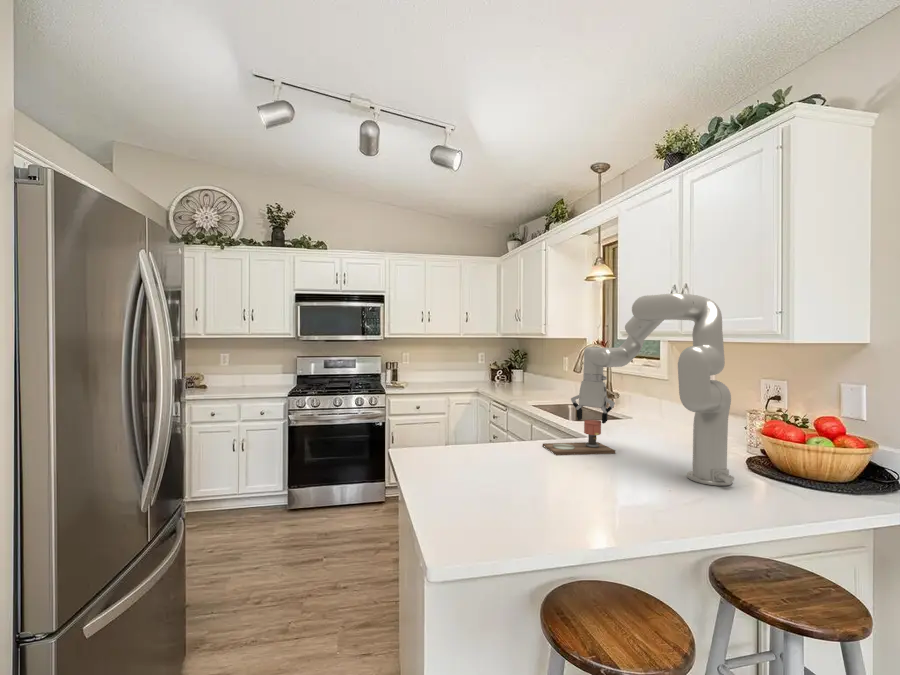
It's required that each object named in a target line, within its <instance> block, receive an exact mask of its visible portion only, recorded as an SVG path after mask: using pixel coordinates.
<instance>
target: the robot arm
mask: <svg viewBox="0 0 900 675" xmlns="http://www.w3.org/2000/svg"><path fill="white" fill-rule="evenodd" d="M631 313H632V315H633V316H632V317H631V318H630V319H629V320H628V321H627V322H626V323H625V325H624V330H625V332H626V334H627V335H628V336H627V338H626V339H625V340H624V342H622V344H621V345H619V347H597V346H596V347H595V346H587V347H585V348H584V351H583V352H584V353H583V376H582V380H581V383H580V386H579V394H577V395H576V396H573V397H571V398H570V401H571V403H572V405H573V407H574V409H576V418H577V420H578V421H581V420H582V419H583V409H582V408H583V407H588V408H597V409H598V408H599V409H601V411H602V414H601V424H606V423H607V422H608V414H609V412H610V411H612V410H613V408H614V406H615V405H616V402H615V401H613V400H612V399H610V398H608V397H607V386H606V382H604V381H607V379H608V377H607V376H605V374H604V368H620V367H625V366H626V365H628V364H629V363H631V362H632V361H633V360H634V358H636V357H637V356H638V355H639V353H641V350H642V348H643V346H644V343H645V340H646V339H647V338H648V337H649V335H651V333H653V331H655V329H657V328H658V327H659V325H660V324H661V323H663V321H668V320H669V321H672V320H673V321H674V320H676V321H690V322H691V321H692V322H694V325H693V327H692V346H688V347H686V348H685V349H684V350H682V352H681V353H680V355H679V357H678V360H677V375H678V376H677V377H678V378H677V379H678V393H679V394H678V395H679V399H680V402H681V404H682V406H683V407H684V408H685V409H686V410H687V411H689V412H692V413H694V417H693V428H692V470H689V471H688V472H686V477H687V479H689V480H691V481H693V482H695V483H698V484H702V485H703V484H704V485H710V486H720V487H723V486H731V485H732V484H733V481H734V480H735V476H734V475H730V470H729V469H728V433H729V432H728V431H729V428H728V427H729V415H730V410H731V405H732V394H731V393H732V392H731V391H730V389H729V387H728V386H727V385H726V384H725V383H724V382H722V381H720V380H715V379H711V376H717V375H718V374H720V373H721V372H722V371H723V370H724V368H725V349H724V348H725V347H724V335H723V316H722V311H721V309H720V307H719V305H718V304H717V303H716V302H715V301H714V300H711V299H710V298H707V297H705V296H701V295H697V294H687V293H680V292H679V293H678V292H677V293H676V292H673V293H661V294H650V295H648V294H647V295H642V296H639V297H638V298H636V299H635V301H634V302H633V303H632V306H631ZM577 400H578V403H577ZM607 404H609V406H608V407H607Z"/></svg>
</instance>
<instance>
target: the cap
mask: <svg viewBox="0 0 900 675" xmlns="http://www.w3.org/2000/svg"><path fill="white" fill-rule="evenodd" d="M583 422H584V424H583V426H584V427H583V433H584V434H586V435H596V436H601V435H602V420H599V419H594V418H593V419H589V418H587V419H584V420H583Z"/></svg>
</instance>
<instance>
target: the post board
mask: <svg viewBox="0 0 900 675" xmlns="http://www.w3.org/2000/svg"><path fill="white" fill-rule="evenodd" d="M587 435H588V442H554V443H553V442H552V443H545V442H544V443H542V447H543V446H545V447H546V448H547V449H549V450H550V451H552V452H553V453H554V454H553V453H552V452H551V453H552V454H553V455H555V454H556V455H555V456H572V455H573V456H575V455H577V456H578V455H580V456H581V455H611V454H616V450H615V449H613V448H610V447H609V446H607V445H605V444H602V443H601V442H598V441H597V435H589V434H587ZM546 448H545V449H546ZM547 449H546V450H547ZM549 450H548V451H549ZM550 451H549V452H550Z"/></svg>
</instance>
